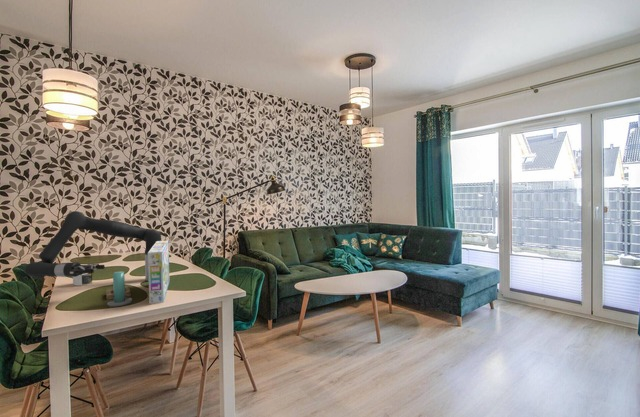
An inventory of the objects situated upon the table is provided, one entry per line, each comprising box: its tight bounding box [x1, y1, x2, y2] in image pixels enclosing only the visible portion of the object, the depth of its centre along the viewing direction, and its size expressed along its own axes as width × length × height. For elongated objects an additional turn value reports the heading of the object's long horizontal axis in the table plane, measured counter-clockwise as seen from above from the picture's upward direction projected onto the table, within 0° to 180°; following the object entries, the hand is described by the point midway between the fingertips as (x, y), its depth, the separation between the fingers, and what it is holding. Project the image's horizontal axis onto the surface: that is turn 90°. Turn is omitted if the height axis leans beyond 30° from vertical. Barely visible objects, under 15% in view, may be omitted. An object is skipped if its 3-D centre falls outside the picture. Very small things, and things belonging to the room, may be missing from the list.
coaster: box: [106, 297, 133, 308], centre depth 165 cm, size 11×11×1 cm
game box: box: [148, 240, 171, 305], centre depth 183 cm, size 40×7×27 cm, turn 21°
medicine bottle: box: [72, 264, 93, 287], centre depth 200 cm, size 7×7×12 cm
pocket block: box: [105, 286, 131, 301], centre depth 178 cm, size 11×11×2 cm
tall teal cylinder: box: [112, 271, 126, 303], centre depth 165 cm, size 5×5×15 cm
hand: (98, 268), depth 169 cm, fingers open, 8 cm apart
